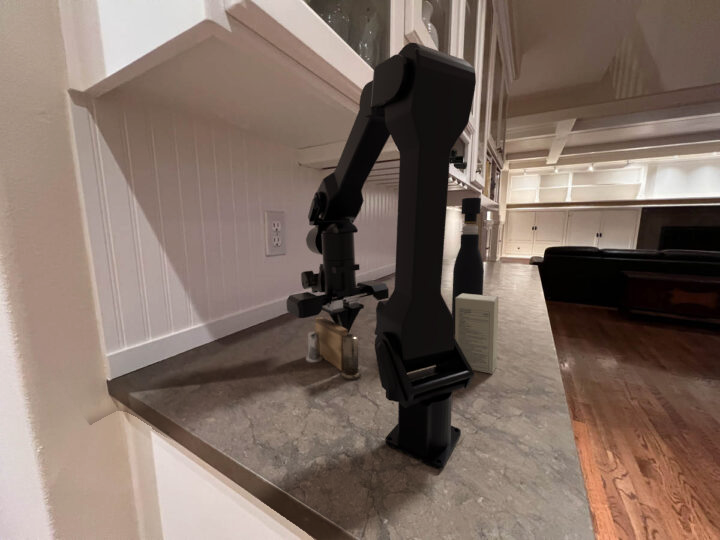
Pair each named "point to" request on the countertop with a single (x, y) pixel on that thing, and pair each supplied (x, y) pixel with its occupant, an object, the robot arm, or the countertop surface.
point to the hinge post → (350, 357)
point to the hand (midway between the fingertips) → (343, 341)
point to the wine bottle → (468, 256)
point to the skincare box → (477, 330)
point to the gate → (331, 341)
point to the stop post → (314, 348)
